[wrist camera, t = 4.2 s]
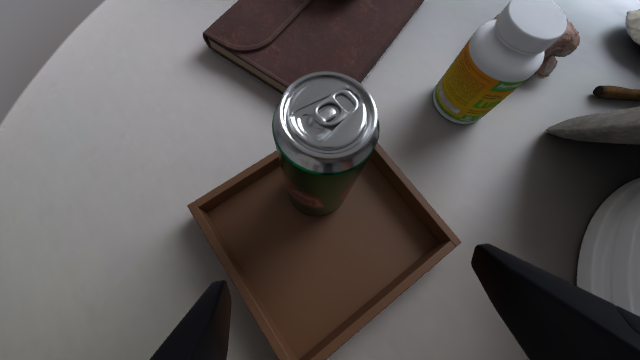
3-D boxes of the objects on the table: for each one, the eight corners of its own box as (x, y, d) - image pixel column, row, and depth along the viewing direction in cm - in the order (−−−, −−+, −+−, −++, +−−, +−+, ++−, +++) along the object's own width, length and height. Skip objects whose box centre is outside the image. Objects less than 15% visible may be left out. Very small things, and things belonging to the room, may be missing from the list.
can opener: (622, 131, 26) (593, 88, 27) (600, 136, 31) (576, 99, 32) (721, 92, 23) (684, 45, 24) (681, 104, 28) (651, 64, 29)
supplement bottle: (454, 134, 26) (538, 60, 16) (420, 92, 27) (481, 1, 18) (495, 110, 27) (596, 29, 17) (461, 71, 28) (538, -25, 19)
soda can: (275, 183, 23) (245, 100, 12) (321, 150, 24) (336, 46, 13) (311, 230, 22) (318, 191, 10) (358, 193, 23) (410, 122, 12)
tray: (295, 372, 19) (294, 386, 17) (198, 211, 22) (186, 205, 20) (446, 244, 22) (461, 242, 20) (343, 120, 26) (347, 106, 23)
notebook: (426, -1, 31) (434, -18, 29) (330, 124, 25) (332, 112, 23) (317, -58, 33) (318, -78, 31) (207, 46, 27) (199, 29, 25)
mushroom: (569, 79, 29) (554, 8, 29) (613, 51, 23) (593, -36, 23) (490, 96, 31) (477, 29, 31) (511, 75, 25) (495, -6, 25)
